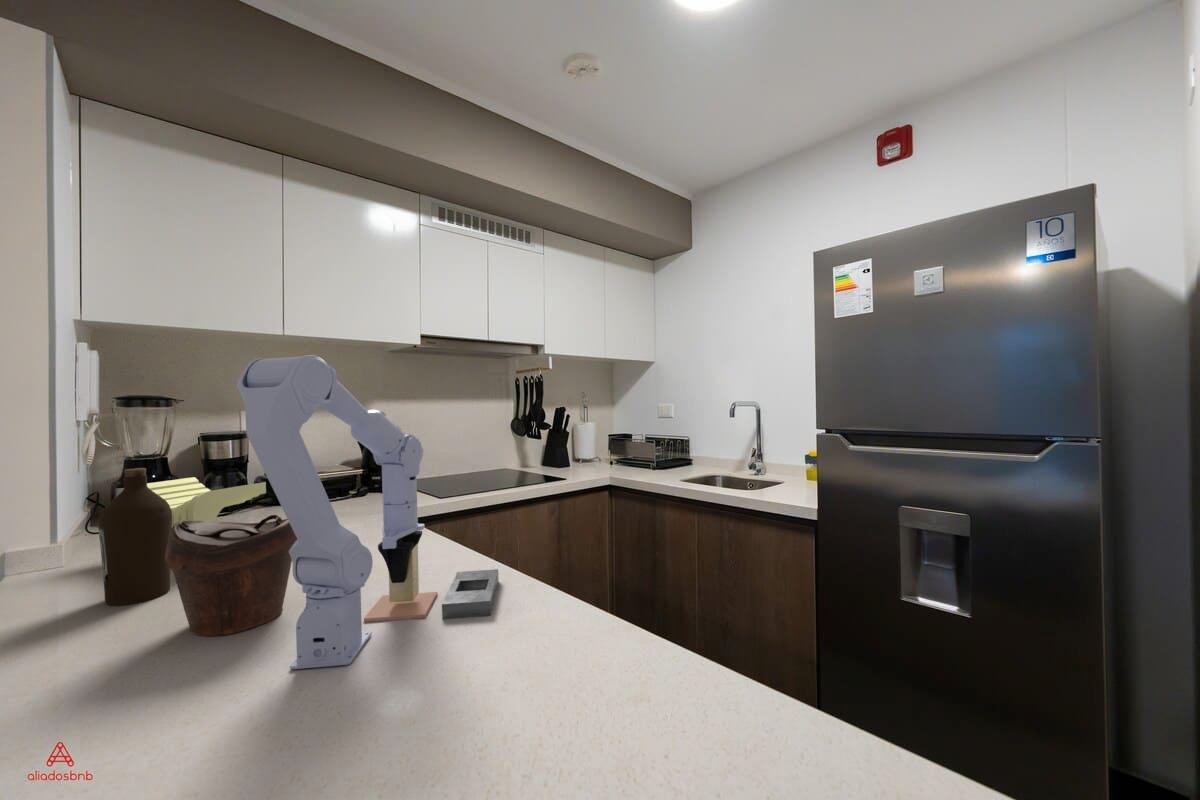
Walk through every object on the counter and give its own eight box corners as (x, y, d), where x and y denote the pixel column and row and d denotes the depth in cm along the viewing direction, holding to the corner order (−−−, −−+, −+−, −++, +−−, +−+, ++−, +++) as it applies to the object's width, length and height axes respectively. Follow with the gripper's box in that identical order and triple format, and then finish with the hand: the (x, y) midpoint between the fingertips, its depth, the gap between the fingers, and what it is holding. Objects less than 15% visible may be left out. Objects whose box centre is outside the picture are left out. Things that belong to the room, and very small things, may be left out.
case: (327, 608, 90) (323, 508, 90) (190, 659, 73) (184, 536, 73) (279, 591, 100) (275, 501, 100) (148, 632, 83) (144, 524, 83)
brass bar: (413, 601, 88) (412, 549, 88) (389, 602, 88) (388, 551, 87) (418, 592, 92) (417, 543, 92) (396, 593, 91) (395, 544, 91)
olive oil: (178, 582, 106) (175, 463, 106) (168, 599, 97) (164, 469, 96) (110, 593, 100) (106, 468, 100) (91, 612, 91) (88, 474, 91)
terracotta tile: (425, 617, 85) (425, 614, 85) (363, 622, 84) (363, 618, 84) (437, 595, 95) (437, 591, 95) (382, 598, 94) (382, 595, 94)
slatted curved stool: (122, 559, 123) (120, 487, 123) (196, 541, 137) (194, 477, 137) (194, 574, 111) (192, 493, 111) (267, 553, 125) (265, 481, 125)
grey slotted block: (490, 615, 86) (490, 600, 86) (442, 618, 85) (441, 604, 85) (498, 581, 101) (498, 569, 101) (458, 584, 101) (457, 571, 101)
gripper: (412, 509, 83) (415, 591, 83) (432, 493, 97) (433, 563, 97) (368, 511, 82) (370, 594, 82) (394, 494, 96) (396, 565, 97)
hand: (402, 577), depth 90 cm, fingers closed on brass bar, 4 cm apart
